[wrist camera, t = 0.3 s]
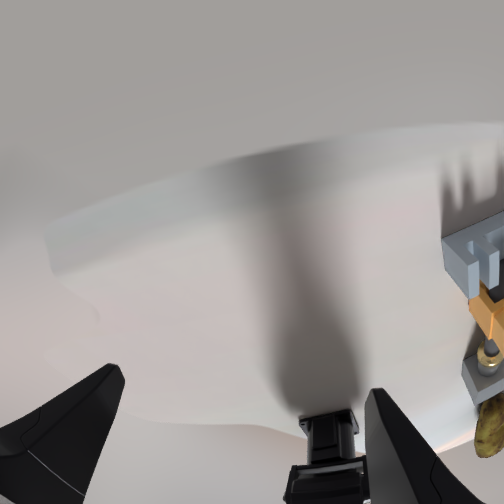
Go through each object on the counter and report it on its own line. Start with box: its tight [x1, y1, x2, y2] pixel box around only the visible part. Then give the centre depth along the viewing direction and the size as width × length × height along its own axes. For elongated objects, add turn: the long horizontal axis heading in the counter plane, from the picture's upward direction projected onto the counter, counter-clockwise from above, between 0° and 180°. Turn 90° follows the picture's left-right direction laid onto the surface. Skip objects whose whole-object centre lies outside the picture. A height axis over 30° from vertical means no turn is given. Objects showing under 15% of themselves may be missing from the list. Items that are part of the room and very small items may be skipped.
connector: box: [461, 354, 504, 406], centre depth 22 cm, size 4×5×5 cm
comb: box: [441, 211, 504, 300], centre depth 16 cm, size 3×9×4 cm, turn 116°
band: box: [477, 340, 504, 368], centre depth 20 cm, size 1×3×3 cm, turn 116°
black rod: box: [484, 258, 504, 357], centre depth 19 cm, size 14×2×2 cm, turn 25°
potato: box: [474, 393, 504, 458], centre depth 25 cm, size 8×13×8 cm, turn 10°
